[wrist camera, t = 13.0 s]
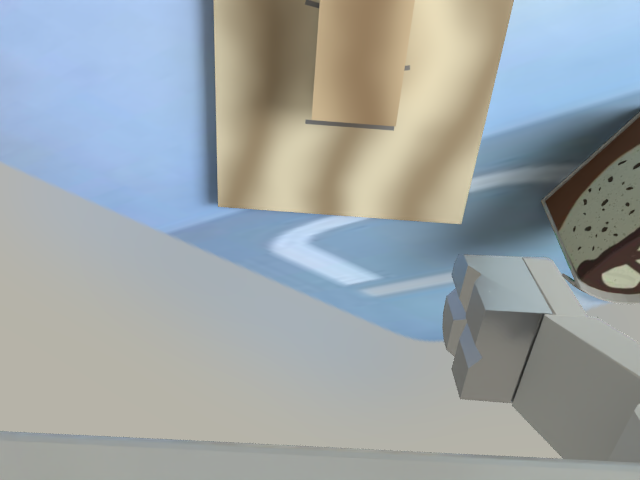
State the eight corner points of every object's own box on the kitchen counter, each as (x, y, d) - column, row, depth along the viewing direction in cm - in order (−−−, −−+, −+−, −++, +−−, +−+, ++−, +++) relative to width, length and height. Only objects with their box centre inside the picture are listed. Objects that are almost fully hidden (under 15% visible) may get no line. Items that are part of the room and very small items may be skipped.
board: (220, 199, 43) (218, 206, 42) (215, -73, 34) (211, -72, 33) (458, 216, 44) (461, 224, 43) (518, -47, 34) (524, -45, 33)
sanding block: (313, 96, 38) (311, 120, 34) (322, -39, 34) (321, -29, 30) (389, 102, 38) (395, 126, 34) (408, -31, 34) (417, -21, 30)
